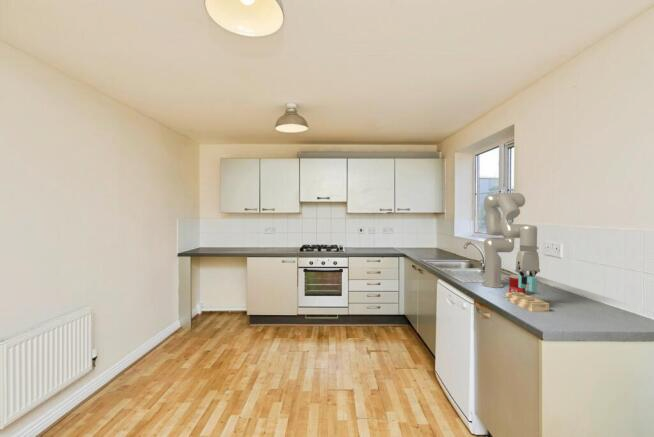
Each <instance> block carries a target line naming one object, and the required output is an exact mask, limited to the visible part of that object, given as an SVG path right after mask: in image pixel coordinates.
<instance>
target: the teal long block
mask: <svg viewBox="0 0 654 437" xmlns="http://www.w3.org/2000/svg"><path fill="white" fill-rule="evenodd" d="M518 275H519V281H518V287H519V288H525V289H526V288H527V285H525V284H522V282H521V279H522V276H521V275H520V274H519V273H518ZM526 277H527V284H528V283H529V284H528V292H531V293H537V292H538V277H536V276H535V277H532V276H529V274H526Z"/></svg>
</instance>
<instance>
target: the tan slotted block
mask: <svg viewBox="0 0 654 437" xmlns="http://www.w3.org/2000/svg"><path fill="white" fill-rule="evenodd" d="M505 300H506V301H508V302H509V303H512V304H514V305H517V306H519V307H521V308H522V309H525V310H526V311H529V312H531V313H542V312H543V313H544V312H545V313H548V312H550V303H548V302H546V301H544V300H541V299H540V298H536V297H534V296H531V295H529V294H526V293H525V294H524V293H509V292H506V293H505Z"/></svg>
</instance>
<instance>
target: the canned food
mask: <svg viewBox="0 0 654 437" xmlns="http://www.w3.org/2000/svg"><path fill="white" fill-rule="evenodd" d="M508 281H509V282H508V283H509V287H508V289H509V290H508V291H509V292H508V293H524V294H526V288H519V287H518V281H519V274H510V275H509V280H508Z"/></svg>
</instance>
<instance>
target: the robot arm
mask: <svg viewBox="0 0 654 437" xmlns="http://www.w3.org/2000/svg"><path fill="white" fill-rule="evenodd" d="M525 203H526V198H525V196H524V195H523V193H520V192H504V193H492V194H487V195H485V196H484V200H483V207H484V211H485V215H486V217H485V218H486V223H485V224H486V226H485V227H486V229H485V230H486V233H487V235H489V236H491V237H487V238H485V239H484V242H483V248H484V276H483V277H482V279H483V280H484V281H482V282H481V285H482V286H484V287H487V288H494V289H496V288H497V289H500V288H503V287H504V283H502V257H501V256H500V255H499V253H511V252H513V251H514V248H515V239H519V250H518V251H517V254H516V259H515V272H516V273H518V275H519V274H520V275H521V276H522V279H521V282H522V284H525V285H526V286H527V285H529V283H527V277H526V275H527V272H528V276H532V277H535V278H536V275H537V274H538V273H540V272H541V270H540V257H539V252H538V250H539V246H538V227H537V225H531V224H521V223H520V224H515V223H512V221H511V220H514V219H516V218H517V217H519V216H520V213H521V209H520V208H522V207H524V206H525ZM498 208H500V210H501V211H500V210H499V209H498ZM501 212H502V213H501ZM492 236H493V237H492ZM494 236H498V237H494ZM499 236H503V237H499Z"/></svg>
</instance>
